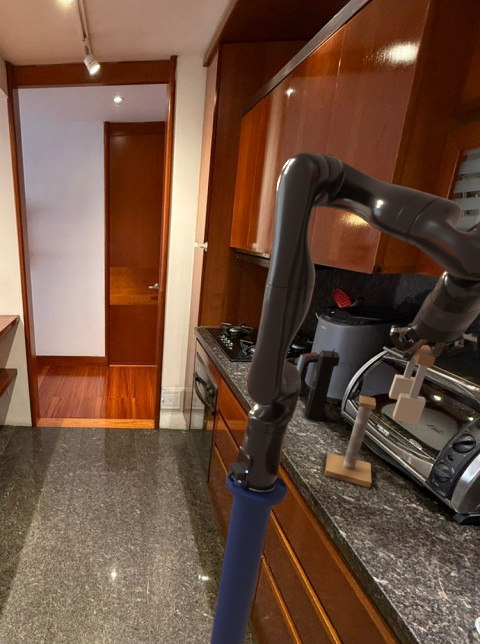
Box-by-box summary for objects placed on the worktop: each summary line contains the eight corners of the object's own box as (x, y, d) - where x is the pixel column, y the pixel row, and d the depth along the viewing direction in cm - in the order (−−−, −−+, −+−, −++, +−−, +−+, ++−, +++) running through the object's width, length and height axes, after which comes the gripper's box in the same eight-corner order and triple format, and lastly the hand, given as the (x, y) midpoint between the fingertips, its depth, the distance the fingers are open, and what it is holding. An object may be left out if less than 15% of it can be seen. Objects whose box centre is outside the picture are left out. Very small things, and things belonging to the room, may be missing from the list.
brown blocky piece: (393, 419, 80) (414, 355, 74) (388, 394, 91) (407, 337, 86) (417, 424, 78) (441, 359, 72) (409, 398, 89) (430, 340, 84)
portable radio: (303, 409, 138) (318, 341, 128) (323, 412, 135) (339, 343, 126) (304, 418, 131) (319, 348, 122) (324, 422, 129) (341, 350, 119)
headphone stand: (324, 475, 102) (343, 403, 94) (326, 457, 109) (344, 389, 101) (370, 487, 97) (394, 413, 89) (369, 468, 104) (391, 397, 96)
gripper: (503, 298, 65) (461, 349, 80) (401, 291, 72) (380, 339, 86) (499, 335, 63) (457, 381, 78) (395, 324, 70) (374, 368, 84)
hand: (416, 358), depth 82 cm, fingers closed on brown blocky piece, 2 cm apart
